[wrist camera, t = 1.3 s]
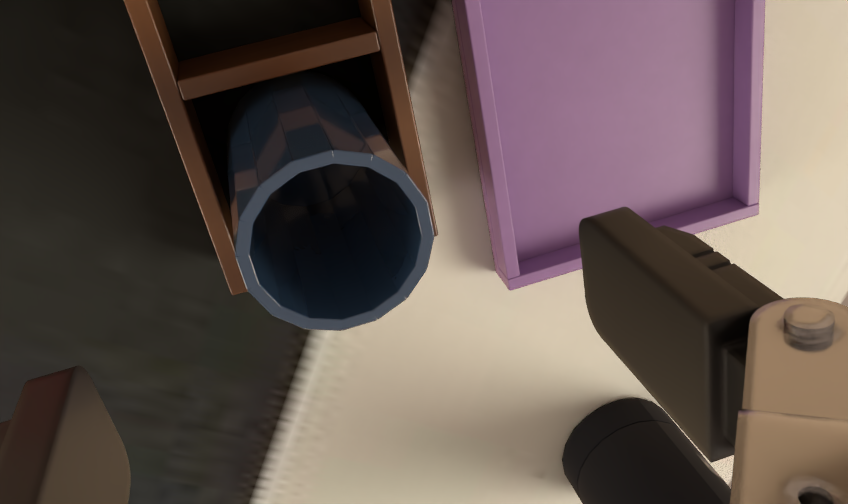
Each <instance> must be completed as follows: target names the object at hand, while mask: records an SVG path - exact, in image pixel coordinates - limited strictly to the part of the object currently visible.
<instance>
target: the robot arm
mask: <svg viewBox="0 0 848 504" xmlns="http://www.w3.org/2000/svg"><path fill="white" fill-rule="evenodd" d="M579 241H580V251H581V260H582V269H583V279H584V288H585V297H586V304H587V308H588V312H589V315H590V318H591V320H592V323H593V325H594V327H595V329H596V331H597V332H598V334H599V335H600V336H601V338H602V339H603V340H604V341H605V342H606V343H607V345H608V346H609V347H610V348H611V349H612V350H613V351H614V353H615V354H616V355H617V356H618V357H619V358H620V359H621V361H622V362H623V363H624V364H625V365H626V366H627V367H628V368H629V370H630V371H631V372H632V373H633V374H634V375H635V376H636V378H637V379H638V380H639V381H640V382H641V383H642V384H643V386H644V387H645V388H646V389H647V390H648V391H649V392H650V394H651V395H652V396H653V397H654V398H655V399H656V400H657V402H658V403H659V404H660V405H661V406H662V407H663V408H664V410H665V411H666V412H667V413H668V414H669V415H670V416H671V418H672V419H673V420H674V421H675V422H676V423H677V424H678V425H679V427H680V428H681V429H682V430H683V431H684V432H685V433H686V435H687V436H688V437H689V438H690V439H691V440H692V441H693V443H694V444H695V445H696V446H697V447H698V448H699V449H700V451H701V452H702V453H703V454H704V455H705V456H706V457H707V459H708V460H709V461H710V462H714V461H717V460H720V459H723V458H726V457H729V456H731V455H734V464H733V475H732V485H731V496H730V504H848V307H847V306H844V305H842V304H839V303H836V302H832V301H829V300H823V299H818V298H787V299H783V298H782V297H780V296H779V295H778V294H776V293H775V292H773V291H772V290H771V289H769V288H768V287H766V286H765V285H764V284H762V283H761V282H759V281H758V280H757V279H755V278H754V277H752V276H751V275H750V274H748V273H747V272H745V271H744V270H742V269H741V268H740V267H738V266H737V265H735V264H731V263H730V260H728V259H727V258H726V257H724V256H723V255H721V254H720V253H719V252H714V251H713V248H712V247H710V246H709V245H707V244H706V243H704V242H703V241H702V240H700V239H699V238H697V237H696V236H695V235H693V234H690V233H687V232H684V231H681V230H678V229H674V228H671V227H668V226H665V225H663V226H660V227H656V228H655V227H653V226H652V225H651V224H650V223H648V222H647V221H646V220H644V219H643V218H642V217H640V216H639V215H638V214H636V213H635V212H634V211H632V210H631V209H630V208H628V207H620V208H617V209H614V210H610V211H607V212H603V213H600V214H597V215H593V216H590V217H586V218H583V219H582V220H581V221H580V224H579ZM130 484H131V474H130V466H129V461H128V457H127V453H126V450H125V447H124V445H123V442H122V440H121V438H120V436H119V434H118V432H117V430H116V428H115V426H114V424H113V422H112V420H111V418H110V416H109V414H108V412H107V410H106V408H105V405H104V403H103V401H102V399H101V397H100V395H99V393H98V391H97V389H96V387H95V385H94V383H93V381H92V379H91V377H90V375H89V374H88V372H87V371H86V370H85V369H84V368H83V367H81V366H75V367H72V368H69V369H65V370H62V371H58V372H55V373H52V374H48V375H45V376H41V377H38V378H35V379H31V380H28V381H27V382H26V383H25V385H24V387H23V390H22V393H21V395H20V398H19V401H18V403H17V406H16V409H15V411H14V414H13V417H12V419H11V420H8V421H5V422H2V423H0V504H128V500H129V492H130Z"/></svg>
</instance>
